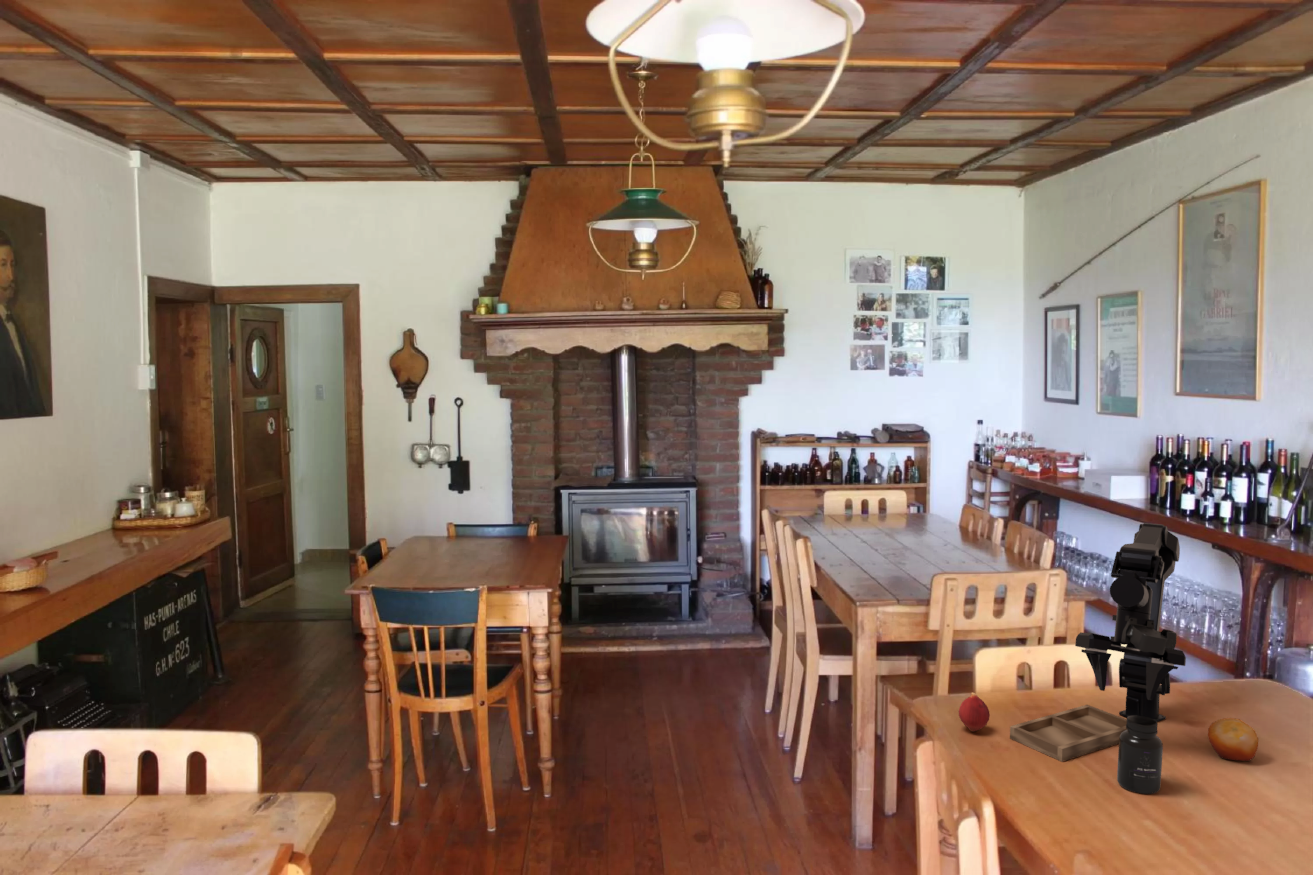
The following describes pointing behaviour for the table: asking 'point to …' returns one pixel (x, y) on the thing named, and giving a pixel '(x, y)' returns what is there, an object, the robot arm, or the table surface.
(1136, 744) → the supplement bottle
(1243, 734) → the fruit
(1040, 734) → the holder
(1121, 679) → the robot arm
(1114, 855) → the table surface
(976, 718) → the onion
